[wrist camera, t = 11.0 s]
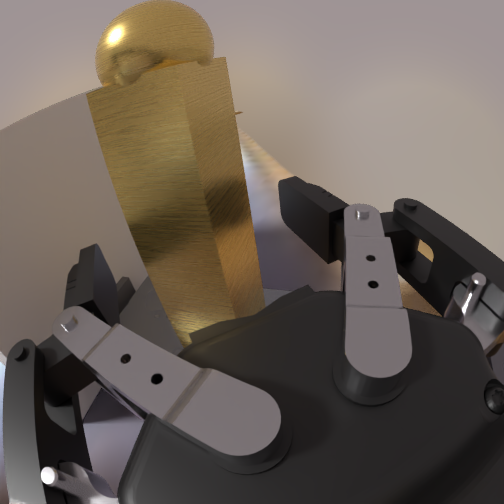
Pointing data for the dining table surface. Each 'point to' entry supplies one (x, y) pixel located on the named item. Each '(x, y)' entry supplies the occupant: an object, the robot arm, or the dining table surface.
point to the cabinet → (56, 221)
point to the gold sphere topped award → (176, 172)
